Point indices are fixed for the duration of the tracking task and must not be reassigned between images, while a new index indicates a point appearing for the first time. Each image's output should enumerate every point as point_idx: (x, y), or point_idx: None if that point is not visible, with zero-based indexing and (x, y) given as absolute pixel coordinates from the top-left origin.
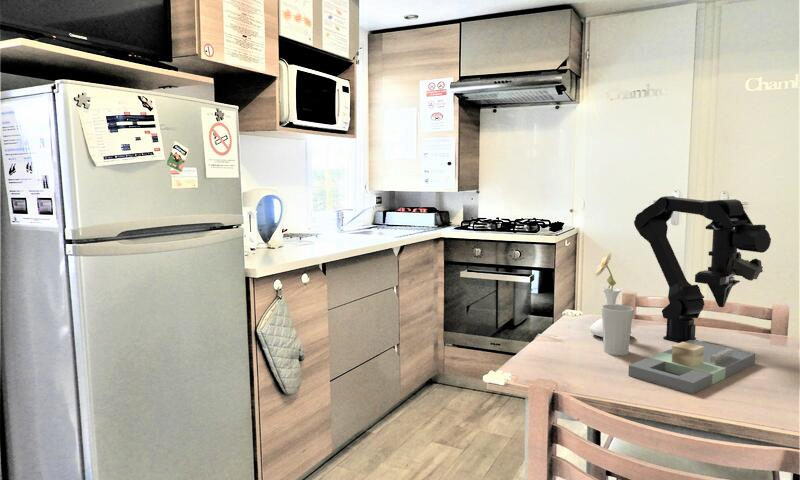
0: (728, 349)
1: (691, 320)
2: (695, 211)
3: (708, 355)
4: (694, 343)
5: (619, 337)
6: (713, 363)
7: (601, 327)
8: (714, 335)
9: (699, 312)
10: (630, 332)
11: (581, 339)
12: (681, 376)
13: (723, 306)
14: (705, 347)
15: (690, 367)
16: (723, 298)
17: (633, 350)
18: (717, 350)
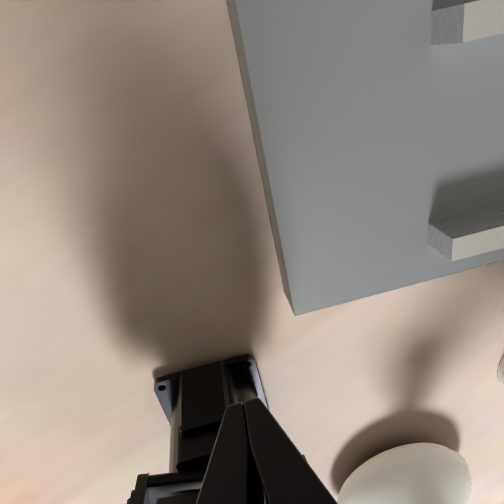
0: (486, 19)
1: (209, 452)
2: None
3: (492, 108)
4: (444, 233)
5: None
6: None
7: (468, 499)
8: (10, 400)
9: (160, 494)
10: (381, 463)
11: (487, 468)
12: None
13: (246, 403)
14: (366, 213)
15: None
16: (319, 479)
17: (480, 353)
18: (369, 148)
